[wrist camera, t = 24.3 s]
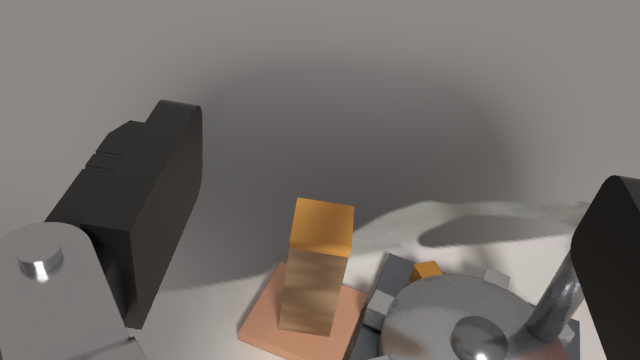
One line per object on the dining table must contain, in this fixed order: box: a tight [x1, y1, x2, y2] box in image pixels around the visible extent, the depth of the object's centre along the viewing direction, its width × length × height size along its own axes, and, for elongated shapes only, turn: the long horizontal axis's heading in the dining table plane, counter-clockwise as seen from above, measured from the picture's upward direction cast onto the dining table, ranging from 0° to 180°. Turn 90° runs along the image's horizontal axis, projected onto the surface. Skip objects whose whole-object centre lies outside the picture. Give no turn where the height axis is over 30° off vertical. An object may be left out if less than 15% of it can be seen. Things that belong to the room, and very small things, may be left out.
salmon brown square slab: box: [238, 262, 368, 360], centre depth 44 cm, size 8×8×1 cm
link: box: [278, 198, 354, 337], centre depth 41 cm, size 4×4×10 cm
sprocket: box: [363, 249, 585, 360], centre depth 37 cm, size 17×17×16 cm
